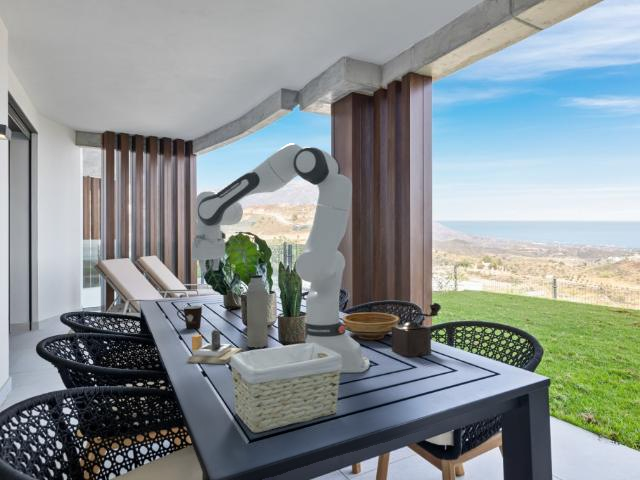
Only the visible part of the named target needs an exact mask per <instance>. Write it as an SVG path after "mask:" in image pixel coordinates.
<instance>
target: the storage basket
mask: <svg viewBox="0 0 640 480" xmlns="http://www.w3.org/2000/svg"><path fill="white" fill-rule="evenodd" d="M318 356H319V357H320V358H319V359H318ZM229 362H230V363H229V364H230V366H231V372H232V374H231V375H232V376H231V377H232V381H233V382H232V383H233V395H234V399H233V400H234V409H235V413H236V414H237V416H238V417H239V418H240V419H241V421H243V424H244V425H246V426H247V428H248V429H250V430H251V432H252V433H255V434H256V433H261V432H265V431H266V432H267V431H270V430H272V429H276V428H277V429H278V428H281V427H286V426H288V425H292V424H297V423H303V422H304V423H305V422H309V421H311V420H314V419H317V418H320V417H327V416H330V415H333V414H336V413H337V411H338V410H337V409H338V398H339V388H340V386H339V385H340V379H341V376H340V375H341V373H340V371H341V368H342V356H341V355H340V354H338V353H336V352H334V351H332V350H330V349H328V348H326V347H323V346H321V345H319V344H316V343H306V342H305V343H304V342H303V343H296V344H288V345H287V344H286V345H281V346H276V347H267V348H260V349H252V350H247V351H242V352H241V353H237V354H232V355H231V361H229Z"/></svg>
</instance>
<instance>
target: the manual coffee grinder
mask: <svg viewBox="0 0 640 480" xmlns="http://www.w3.org/2000/svg"><path fill="white" fill-rule="evenodd" d="M429 308H430V313H423V312H421V313H420V312H413V307H411V306H409V307H408V312H407V313H408V317H409V318H408V319H409V320H408V321H406V322H403V324H398V325H397V326H392V332H391V352H393V353H395V354H398V355H400V356H403V357H405V358H409V359H411V358H417V357H422V356H426V355H429V354H432V340H431V338H432V337H431V335H432V334H431V332H432V331H431V327H427V326H424V325H420V324H419V323H418V322H416V321H413V316H420V317H421V316H422V317H427V318H430V317H432V318H434V317H438V313H439V311H441V309H442V306H441V304H440V303H436V302H432V303H430V304H429ZM412 315H413V316H412Z"/></svg>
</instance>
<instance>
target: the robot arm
mask: <svg viewBox="0 0 640 480" xmlns="http://www.w3.org/2000/svg"><path fill="white" fill-rule="evenodd" d="M341 169H342V168H341V165H340V162H339V161H338V160H337V159H336V158H335V156H333V155H331V154H329V153H328V152H327V151H325V150H323V149H319V148H318V147H313V146H306V147H303V148H302V147H301V146H300V145H298V144H296V143H289V144H286V145H285V146H283V147H281V148H279V149H278V150H276V151H275V152H273V153H272V154H271V155H270V156H268V158H266V159H265V160H264V161H262V162H260V163H259V164H258V165H256V167H254V168H253V169H251V170H250V171H248V172H246V173H245V174H243V175H242V176H240V177H238V178H237V179H235V180H234V181H232V182H231V183H230V184H228V185H227V186H226V187H224V188H222V189H221V190H220V191H219V192H217V191H214V190H213V191H212V190H211V191H210V190H208V191H203V192H200V193H199V194H197V196H196V199H195V200H196V201H195V217H196V226H195V228H196V229H195V231H196V232H195V234H196V236H195V237H194V239H193V242H192V246H191V247H192V249H191V258H192V260H193V261H198V265H199V267H200V273H203V274H204V273H207V272H208V267H206V261H208V260H213V265H212V271H219V265H220V262H221V261H220V259H224V258H225V255H226V241H225V240H226V238H227V235H226V233H225V232H224V231H222V229H221V226H233V225H237V224H238V223H240V221H241V220H242V218H243V212H244V211H243V208H242V205H241V204H240V201H241V200H242V199H244V198H245V197H248V196H250V195H254V194H256V195H257V194H263V193H264V194H265V193H273V192H276V191H278V190H280V189H282V188H283V187H285V186H286V185H287V184H288V183H290V182H291V181H292V180H293V179H295V178H296V177H298V176H299V177H300V178H302V179H303V180H305V181H306V182H309V183H310V184H312V185H314V186H317V187H318V198H317V201H316V202H317V204H316V209H315V211H314V212H315V213H314V217H313V223H312V226H311V230H310V232H309V235H308V238H307V240H306V242H305V244H304V247H303V249H302V252H301V253H300V254H299V256H298V257H297V258H296V261H295V268H294V269H295V271H296V274H297V276H298V277H299V278H300V279H301V280H302V281H305V282H307V283H310V286H309V291H308V293H307V296H306V299H305V318H306V319H305V321H306V322H305V323H304V336H305V343H316V344H319V345H321V346H323V347H326V348H328V349H330V350H332V351H334V352H336V353H338V354H340V355H341V356H342V368H341V371H340V374H342V373H344V374H346V373H363V372H366V371H367V370H368V369H369V368H370V359H369V358H367V357H365V356H364V354H363V350H362V349H363V348H362V346H361V345H360V343H359V342H357V341H356V340H355V339H354V338H352V337H351V336H349V335H348V334H347V333H346V327H345V323H343V322H341V321H340V293H341V286H342V280H343V274H344V273H343V272H344V269H345V267H346V259H345V256H344V255H343V253H342V252H341V251H339V249H338V248H339V246H340V243H341V241H342V239H343V238H344V237H345V234H346V230H347V226H348V221H349V215H350V211H351V206H352V197H353V196H352V195H353V183H352V181H351V179H350V178H349V177H347V176H345V175H343V174H341V172H342V171H341ZM319 358H320V357H319V356H318V359H319Z"/></svg>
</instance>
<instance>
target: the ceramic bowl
mask: <svg viewBox="0 0 640 480" xmlns="http://www.w3.org/2000/svg"><path fill="white" fill-rule="evenodd" d="M341 320H342V323H343V324H344V323H345V330H347V331H349V332H351V333H352V334H355V335H357V337H358V338H359V339H362V340H363V339H364V340H380V339H383V338H384V337H385V336H387V334H390V333H392V326H397V325H399V320H400V317H399V316H397V315H394V314H391V313H390V314H389V313H385V312H355V313H350V314H346V315H344V316H342V317H341Z"/></svg>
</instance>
